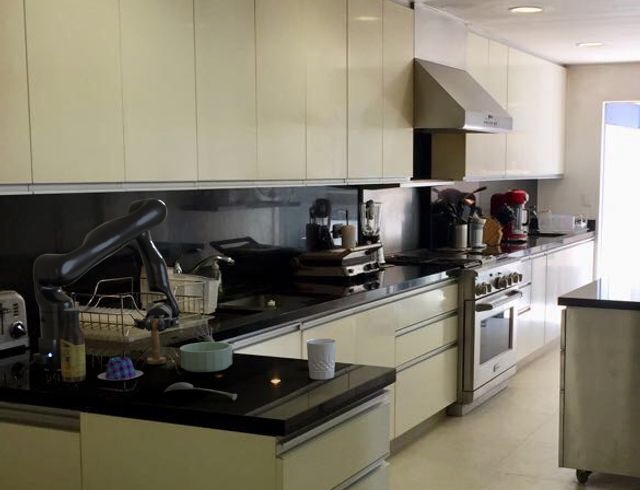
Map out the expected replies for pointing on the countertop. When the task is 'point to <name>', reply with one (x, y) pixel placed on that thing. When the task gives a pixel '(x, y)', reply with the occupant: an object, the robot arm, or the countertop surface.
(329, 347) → the white cup
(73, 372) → the sauce bottle
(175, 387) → the soupspoon
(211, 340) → the kitchen whisk
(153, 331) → the stirrer
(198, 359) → the bowl
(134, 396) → the countertop surface
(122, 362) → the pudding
